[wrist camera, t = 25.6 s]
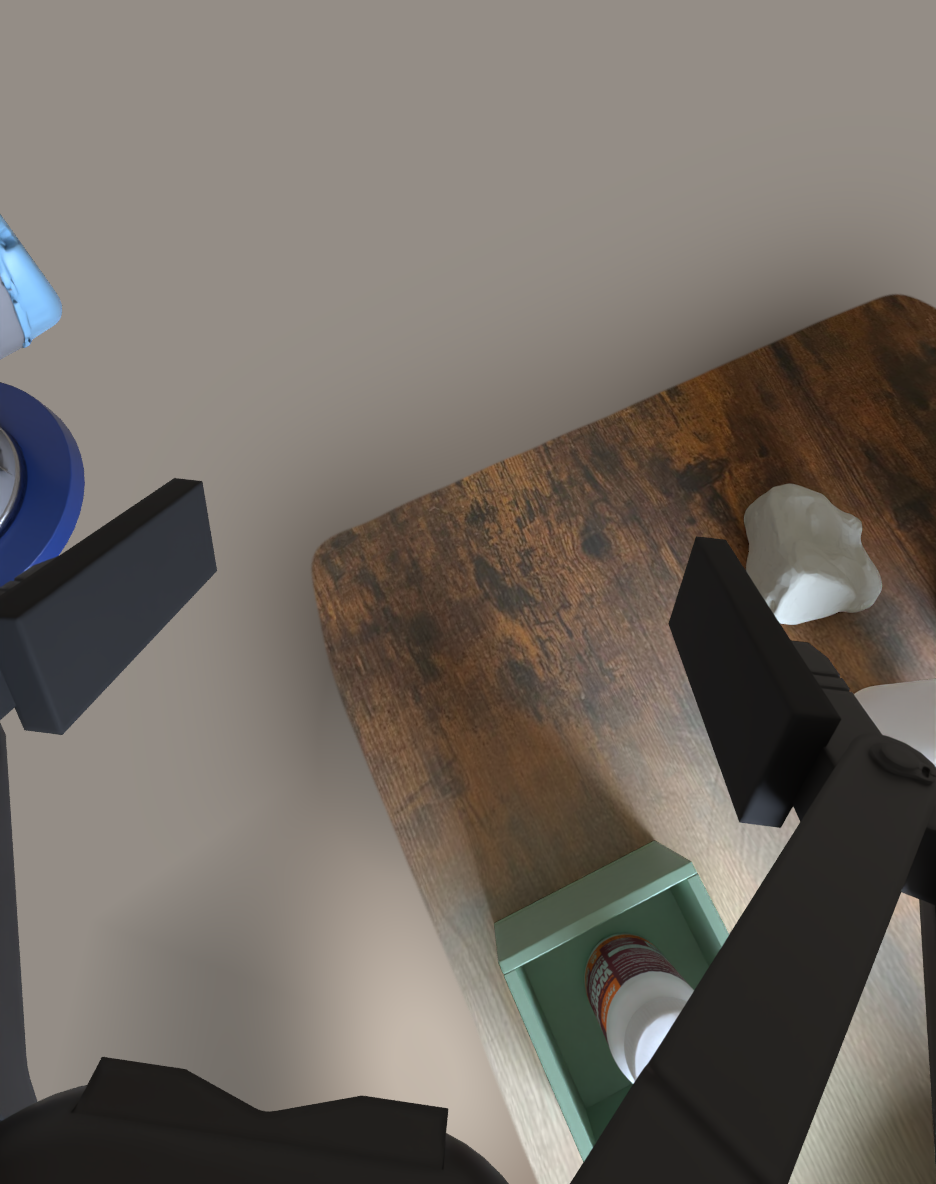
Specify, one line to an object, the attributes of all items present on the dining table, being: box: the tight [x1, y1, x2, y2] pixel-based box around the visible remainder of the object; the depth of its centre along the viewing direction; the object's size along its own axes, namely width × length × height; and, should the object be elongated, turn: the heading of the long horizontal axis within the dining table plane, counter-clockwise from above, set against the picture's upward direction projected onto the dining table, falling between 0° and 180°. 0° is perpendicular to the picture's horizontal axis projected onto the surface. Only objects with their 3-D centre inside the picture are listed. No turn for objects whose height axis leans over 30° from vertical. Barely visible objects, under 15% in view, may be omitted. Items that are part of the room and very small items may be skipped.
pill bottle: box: [584, 933, 694, 1084], centre depth 36 cm, size 6×6×11 cm
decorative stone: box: [744, 484, 882, 625], centre depth 46 cm, size 11×9×10 cm
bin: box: [494, 841, 729, 1162], centre depth 39 cm, size 14×14×8 cm
